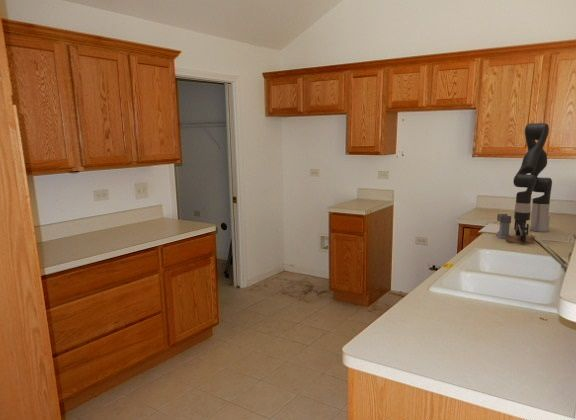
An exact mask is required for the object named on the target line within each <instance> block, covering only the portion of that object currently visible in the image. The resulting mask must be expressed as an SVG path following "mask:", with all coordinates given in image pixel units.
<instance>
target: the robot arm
mask: <svg viewBox="0 0 576 420" xmlns="http://www.w3.org/2000/svg"><path fill="white" fill-rule="evenodd" d="M549 133H550V126H549V124H548V123H546V122H545V123H544V122H543V123H542V122H538V123H535V122H532V123H528V124H527V125H525V127H524V137H525V138H524V139H525V142H526V146H527V152H526V153H525V154H524V156H523V158H522V162H521V165H520V168H519V170H518V171H517V172H516V174H515V176H514V177H513V184H514V186H515V187H516V188H525V189H526V190H524V191H518V192H517V193H516V195H515V196H516V197H515V205H514V216H513V217H514V218H513V219H514V224H513V225H514V227H513V230H514V232H515V234H516V235H520V232H521V242H525V241H526V235H529V230H530V231H532V232H541V233H546V232H549V230H550V218H551V217H550V215H549V214H550V203H551V193H552V187H553V180H552V178H551V177H539V175H540V174H541V172H543V170H544V169H546V167H547V165H548V155H547V152H546V151H545V150H544V149H543V148H544V147H545V144H546V142H547V139H548V137H549ZM533 192H534V193H542V194H543V195H540V196H537V197H534V198H532V195H533ZM531 202H532V203H531ZM531 206H532V207H531ZM527 221H530V227H529V223H527Z"/></svg>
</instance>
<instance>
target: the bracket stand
mask: <svg viewBox="0 0 576 420" xmlns="http://www.w3.org/2000/svg"><path fill="white" fill-rule="evenodd" d="M496 218H497V219H496V221H497V222H499V223H500V224H499V225H500V230H499V233H497V234H495V236H496V238H498V239H502V240H504V239H505V240H506V237H507V235H516V233H515V234H514V233H513V234H512V233H510V224H512V215H508V213H497V216H496ZM520 235H521V232H520Z"/></svg>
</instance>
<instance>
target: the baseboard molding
mask: <svg viewBox="0 0 576 420" xmlns="http://www.w3.org/2000/svg"><path fill="white" fill-rule="evenodd" d="M488 223H489V224H488ZM488 223H487V224H485V226H484V227H482V228H481V229H480V230H479V231H478V232H477V233H479V234H489V235H490V234H491V235H496V234H499V230H500V222H499V223H496V221H495V222H493V223H490V222H489V221H488Z"/></svg>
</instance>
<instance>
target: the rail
mask: <svg viewBox="0 0 576 420" xmlns="http://www.w3.org/2000/svg"><path fill="white" fill-rule="evenodd" d="M535 239H536V237H535V236H533V235H531V234H530V235H529V234H528V235H526V241H525V242H521V235H507V237H506V239H505V241H506V243H507V244H527V245H528V244H530V245H531V244H535Z"/></svg>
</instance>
